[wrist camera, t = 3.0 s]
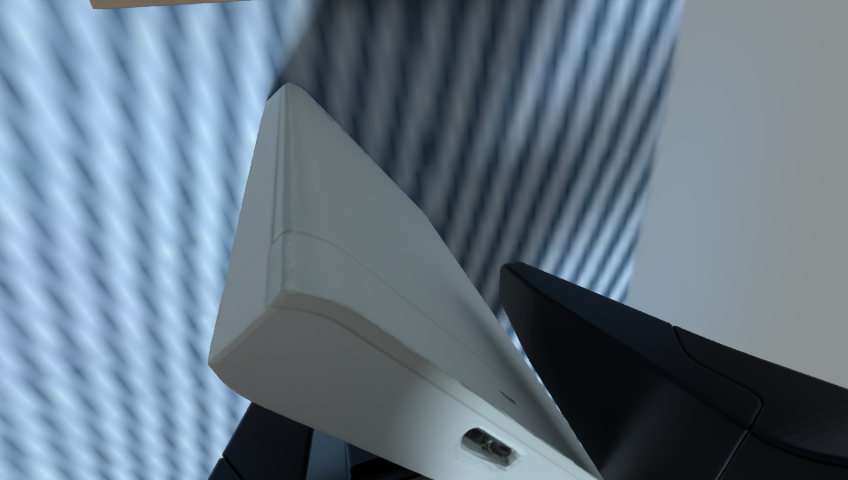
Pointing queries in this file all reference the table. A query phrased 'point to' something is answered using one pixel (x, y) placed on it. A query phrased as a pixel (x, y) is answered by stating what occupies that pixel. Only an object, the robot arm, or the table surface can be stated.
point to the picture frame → (146, 3)
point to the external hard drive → (373, 318)
